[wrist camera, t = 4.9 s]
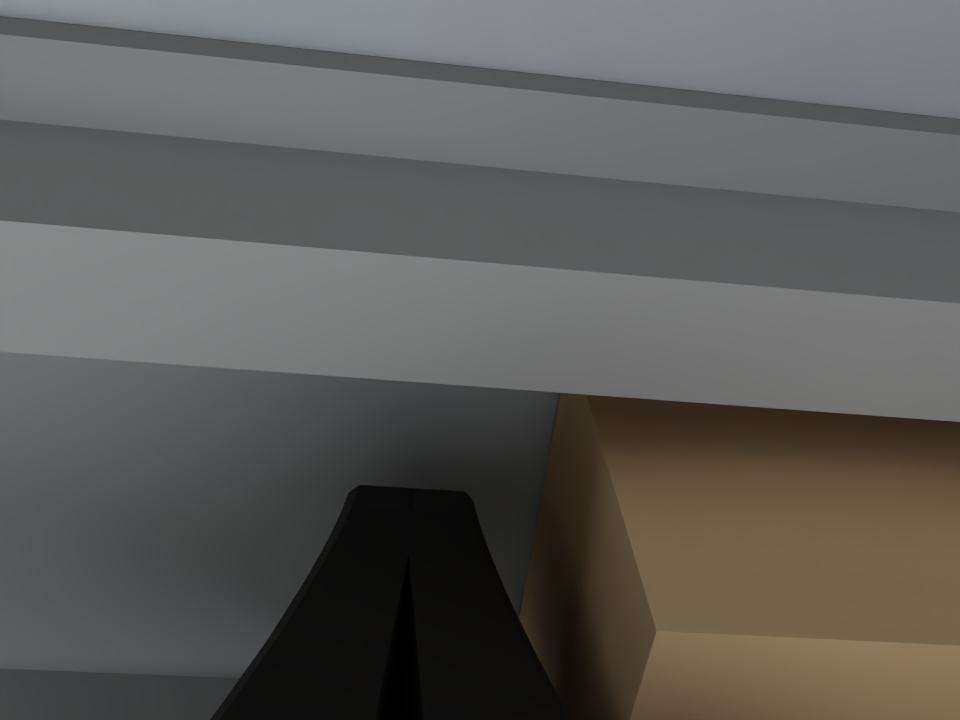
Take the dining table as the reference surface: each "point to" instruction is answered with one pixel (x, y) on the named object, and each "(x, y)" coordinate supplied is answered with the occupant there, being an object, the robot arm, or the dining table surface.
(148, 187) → the channel
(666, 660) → the keeper
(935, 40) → the dining table surface
